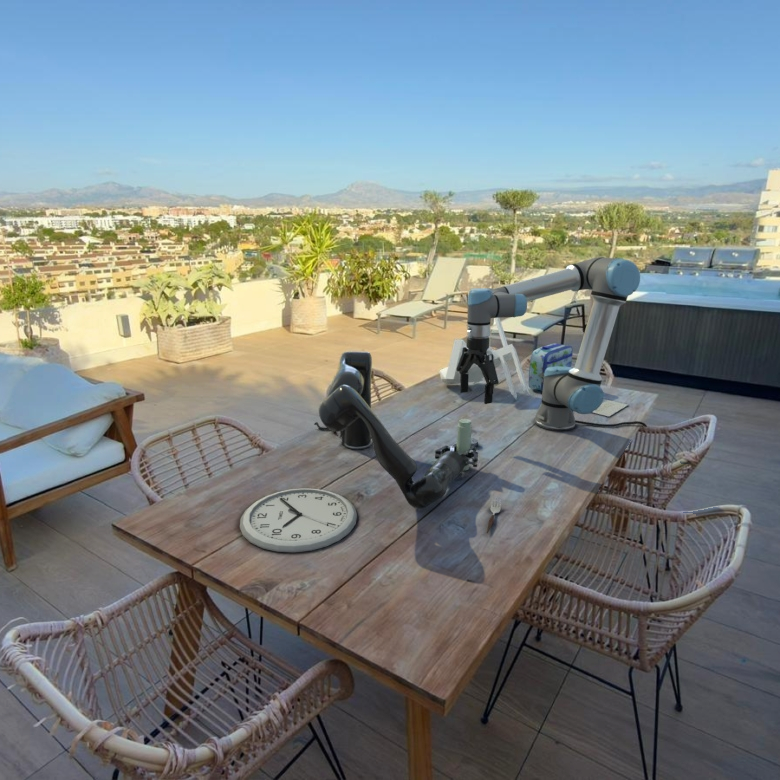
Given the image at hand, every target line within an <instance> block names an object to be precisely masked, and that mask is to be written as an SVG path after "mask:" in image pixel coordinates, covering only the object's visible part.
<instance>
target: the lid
mask: <svg viewBox="0 0 780 780" xmlns="http://www.w3.org/2000/svg"><path fill="white" fill-rule="evenodd" d="M472 446H475V448H476V449H477V447H479V440H478V439H476V438H473V437H471V445H470V449H471V447H472Z"/></svg>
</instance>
